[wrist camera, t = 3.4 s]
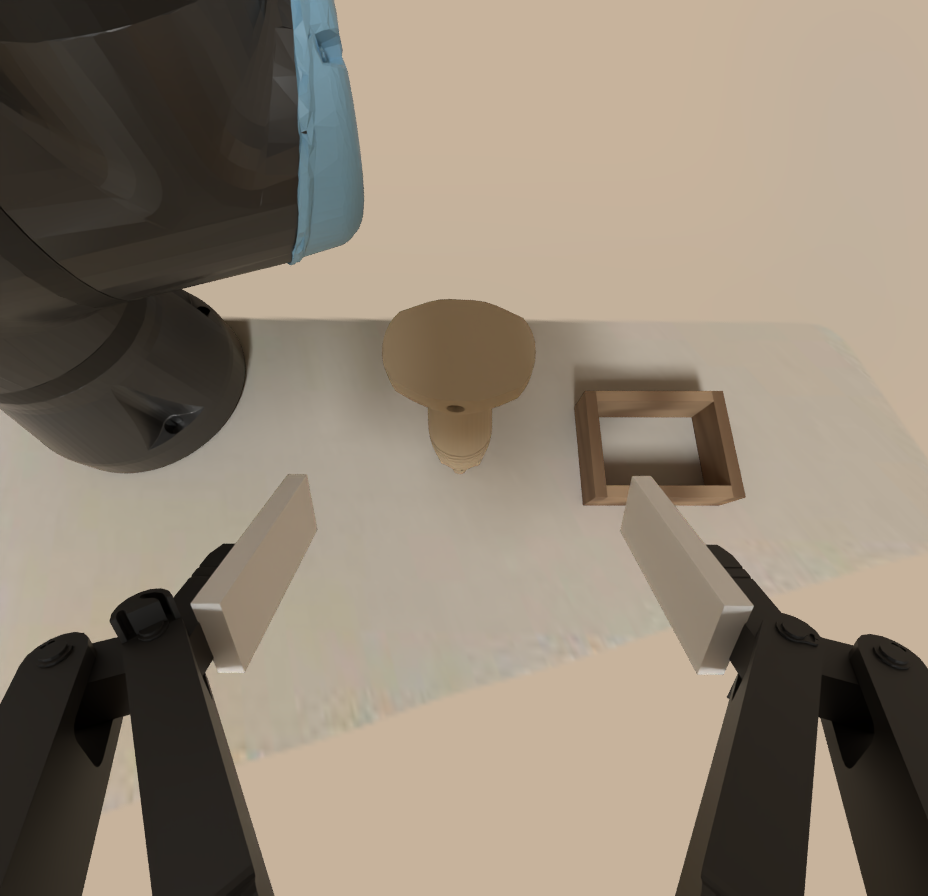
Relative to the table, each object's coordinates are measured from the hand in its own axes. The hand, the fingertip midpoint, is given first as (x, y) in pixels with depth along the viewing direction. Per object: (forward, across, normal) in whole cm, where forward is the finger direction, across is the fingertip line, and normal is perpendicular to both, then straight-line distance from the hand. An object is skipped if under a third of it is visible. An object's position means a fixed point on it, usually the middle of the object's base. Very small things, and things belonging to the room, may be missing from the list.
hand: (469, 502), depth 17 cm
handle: (+14, 0, -5) cm, 15 cm away
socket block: (+14, +14, -5) cm, 20 cm away
